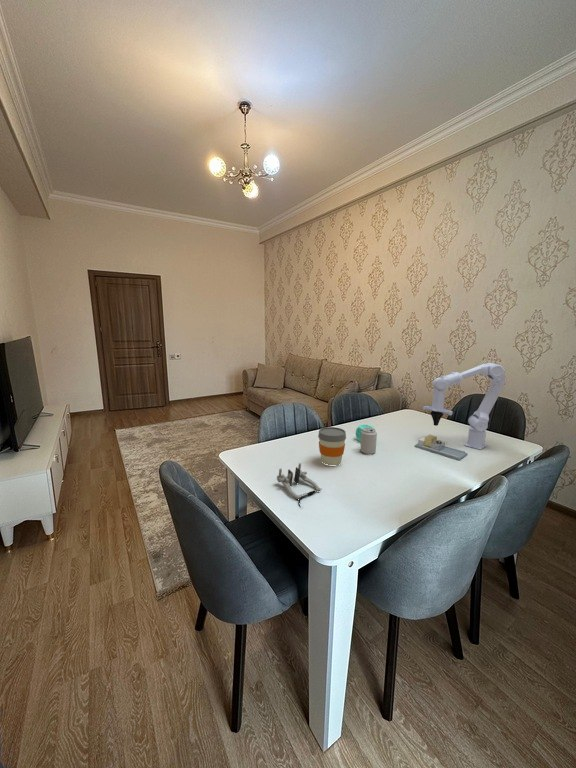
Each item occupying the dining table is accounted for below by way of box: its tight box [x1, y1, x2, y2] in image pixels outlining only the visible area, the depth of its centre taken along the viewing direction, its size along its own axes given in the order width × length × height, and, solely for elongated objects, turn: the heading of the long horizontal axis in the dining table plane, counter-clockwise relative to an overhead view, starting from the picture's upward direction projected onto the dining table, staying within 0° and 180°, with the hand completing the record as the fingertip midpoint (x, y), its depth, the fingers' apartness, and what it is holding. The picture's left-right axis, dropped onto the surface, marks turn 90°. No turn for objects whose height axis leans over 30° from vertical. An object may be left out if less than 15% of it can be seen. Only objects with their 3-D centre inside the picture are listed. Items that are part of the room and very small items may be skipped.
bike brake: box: [276, 463, 323, 504], centre depth 118 cm, size 14×7×20 cm
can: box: [359, 427, 378, 455], centre depth 154 cm, size 8×8×12 cm
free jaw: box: [431, 439, 446, 451], centre depth 157 cm, size 7×4×4 cm, turn 131°
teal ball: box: [355, 424, 375, 443], centre depth 170 cm, size 8×8×8 cm
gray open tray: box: [414, 436, 469, 461], centre depth 156 cm, size 10×22×4 cm, turn 41°
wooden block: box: [424, 434, 438, 448], centre depth 160 cm, size 6×4×5 cm, turn 131°
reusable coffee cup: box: [317, 426, 347, 466], centre depth 142 cm, size 13×13×15 cm
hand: (435, 425), depth 166 cm, fingers closed
